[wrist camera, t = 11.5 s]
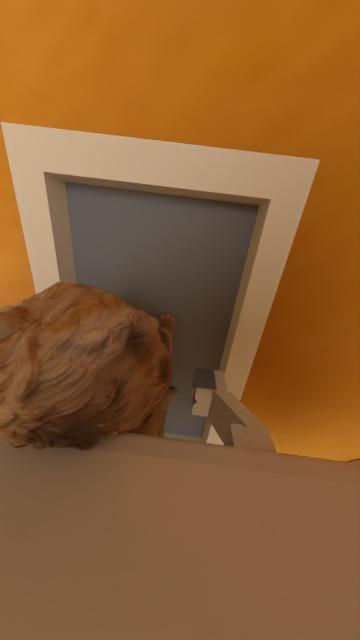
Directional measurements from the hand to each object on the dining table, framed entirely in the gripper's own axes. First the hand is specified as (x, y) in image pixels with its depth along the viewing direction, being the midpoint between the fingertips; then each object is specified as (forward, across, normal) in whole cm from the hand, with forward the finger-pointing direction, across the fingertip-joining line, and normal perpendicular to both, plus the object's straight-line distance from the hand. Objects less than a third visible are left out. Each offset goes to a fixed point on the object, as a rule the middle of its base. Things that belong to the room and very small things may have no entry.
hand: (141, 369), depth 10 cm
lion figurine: (+3, +1, +1) cm, 3 cm away
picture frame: (+4, 0, 0) cm, 4 cm away
